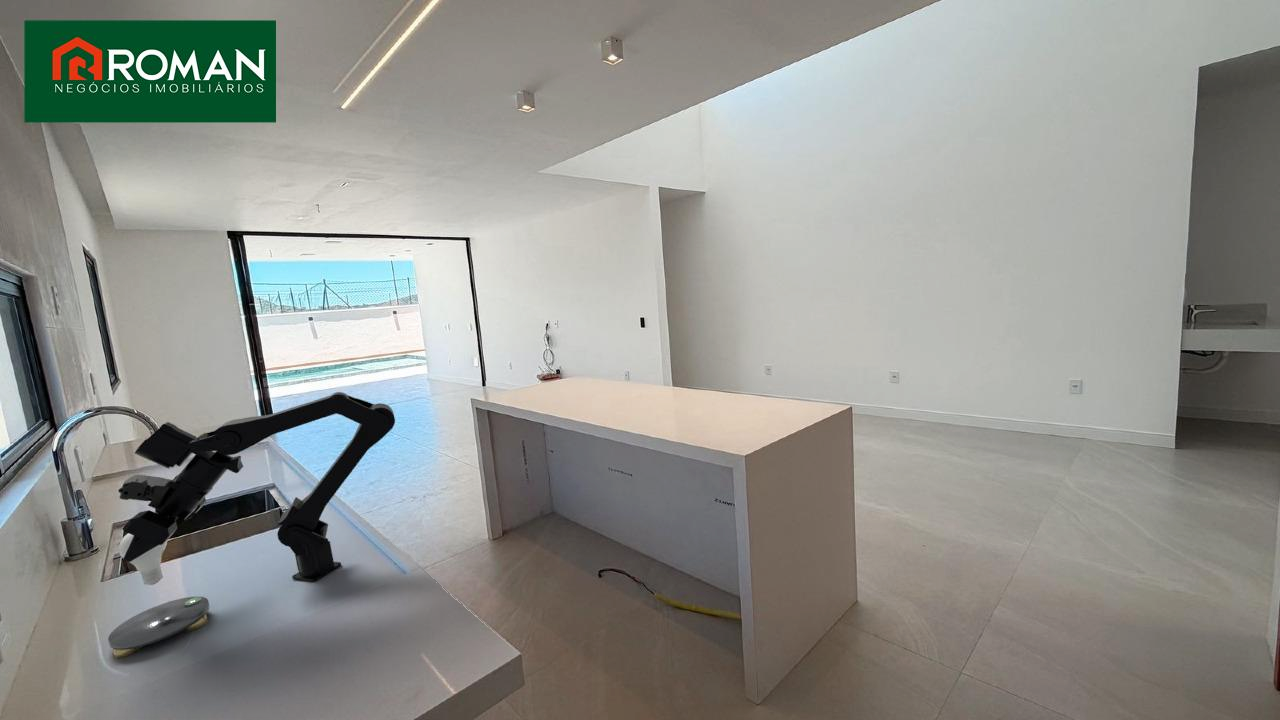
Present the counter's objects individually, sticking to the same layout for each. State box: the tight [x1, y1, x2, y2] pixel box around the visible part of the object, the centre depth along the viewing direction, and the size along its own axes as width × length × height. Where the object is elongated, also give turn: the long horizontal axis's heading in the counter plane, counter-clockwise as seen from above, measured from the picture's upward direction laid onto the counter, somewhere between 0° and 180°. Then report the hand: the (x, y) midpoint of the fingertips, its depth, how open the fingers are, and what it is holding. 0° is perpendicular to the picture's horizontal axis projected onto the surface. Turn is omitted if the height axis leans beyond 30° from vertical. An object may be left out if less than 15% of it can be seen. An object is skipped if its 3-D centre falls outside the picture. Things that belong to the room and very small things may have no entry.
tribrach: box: [107, 596, 210, 659], centre depth 90 cm, size 13×13×3 cm
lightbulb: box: [118, 533, 168, 586], centre depth 94 cm, size 6×6×11 cm
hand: (135, 552), depth 93 cm, fingers closed on lightbulb, 6 cm apart
